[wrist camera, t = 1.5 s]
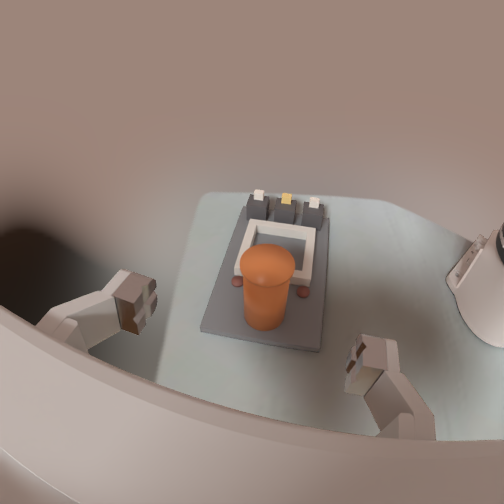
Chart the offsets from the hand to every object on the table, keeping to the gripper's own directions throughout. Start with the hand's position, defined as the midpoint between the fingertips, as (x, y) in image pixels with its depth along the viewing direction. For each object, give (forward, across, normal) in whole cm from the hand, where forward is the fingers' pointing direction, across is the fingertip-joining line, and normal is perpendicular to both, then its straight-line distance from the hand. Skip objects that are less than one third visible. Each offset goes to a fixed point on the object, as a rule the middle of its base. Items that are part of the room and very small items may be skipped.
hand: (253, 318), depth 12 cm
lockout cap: (+19, 0, +18) cm, 26 cm away
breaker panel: (+27, +1, +17) cm, 32 cm away
